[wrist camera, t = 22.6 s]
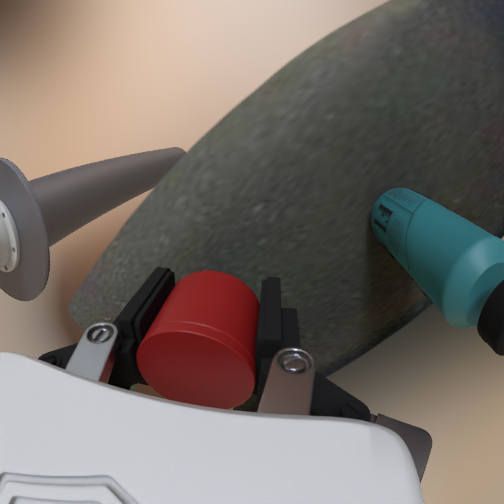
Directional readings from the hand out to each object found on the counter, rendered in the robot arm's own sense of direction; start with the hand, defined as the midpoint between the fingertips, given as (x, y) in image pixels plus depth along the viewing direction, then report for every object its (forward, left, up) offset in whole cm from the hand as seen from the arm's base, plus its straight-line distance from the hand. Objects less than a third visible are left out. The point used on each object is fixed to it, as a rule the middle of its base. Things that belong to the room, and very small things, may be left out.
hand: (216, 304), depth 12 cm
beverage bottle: (+14, +6, -17) cm, 23 cm away
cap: (0, 0, +1) cm, 1 cm away
